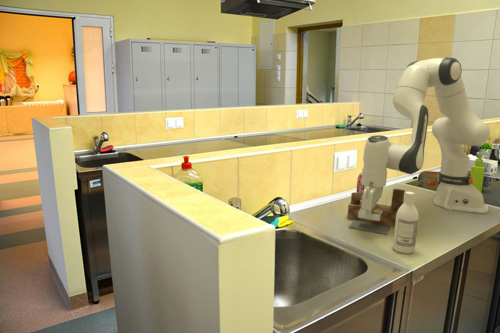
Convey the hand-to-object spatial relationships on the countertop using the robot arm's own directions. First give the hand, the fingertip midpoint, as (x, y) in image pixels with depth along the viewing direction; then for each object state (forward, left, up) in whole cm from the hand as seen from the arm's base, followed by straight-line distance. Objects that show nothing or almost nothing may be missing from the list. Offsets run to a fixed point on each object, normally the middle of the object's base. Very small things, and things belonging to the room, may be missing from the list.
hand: (370, 215), depth 154 cm
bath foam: (-14, +14, -6) cm, 21 cm away
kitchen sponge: (0, 0, -1) cm, 1 cm away
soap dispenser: (-37, -77, -6) cm, 86 cm away
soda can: (+10, -36, -6) cm, 38 cm away
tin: (-17, -76, -6) cm, 78 cm away
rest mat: (0, 0, -5) cm, 5 cm away
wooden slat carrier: (0, -9, -5) cm, 10 cm away
